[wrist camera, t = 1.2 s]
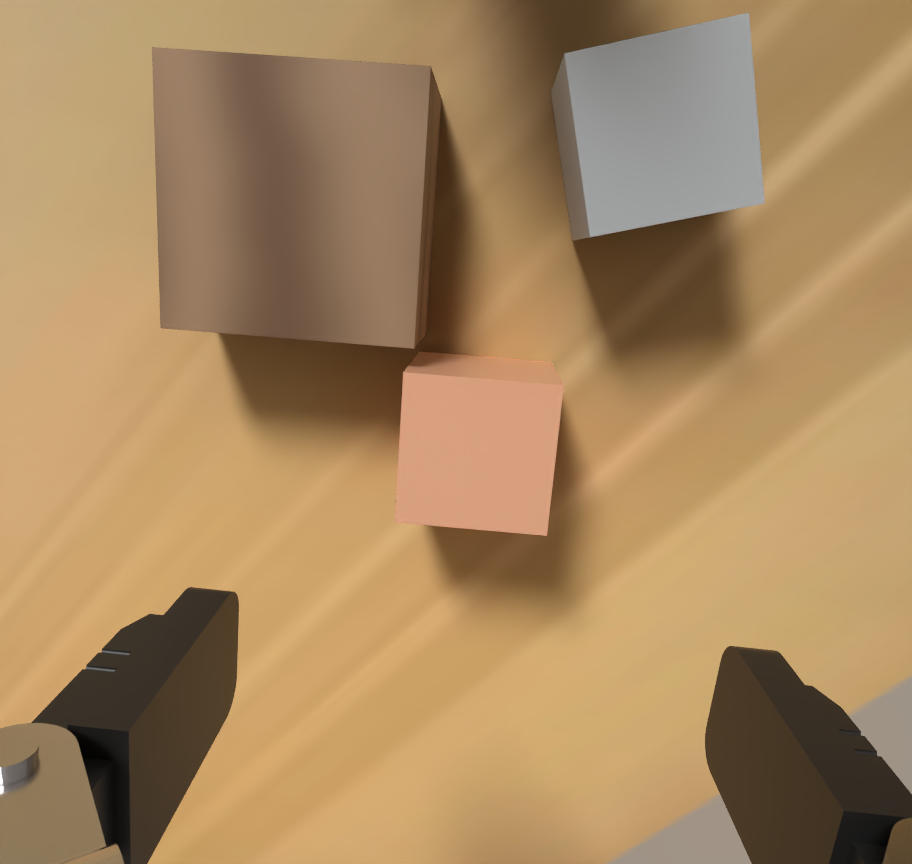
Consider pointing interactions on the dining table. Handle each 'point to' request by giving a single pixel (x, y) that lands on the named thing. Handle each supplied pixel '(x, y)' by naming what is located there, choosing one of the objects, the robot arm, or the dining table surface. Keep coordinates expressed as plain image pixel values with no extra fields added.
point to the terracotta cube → (478, 442)
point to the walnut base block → (295, 195)
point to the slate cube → (659, 128)
